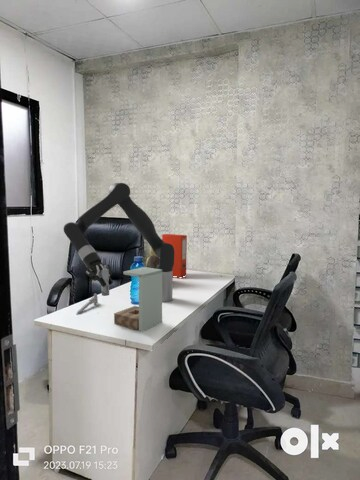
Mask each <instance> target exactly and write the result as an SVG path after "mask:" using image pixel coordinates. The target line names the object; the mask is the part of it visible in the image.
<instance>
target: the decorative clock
mask: <svg viewBox="0 0 360 480" xmlns="http://www.w3.org/2000/svg"><path fill="white" fill-rule="evenodd" d="M159 263H160V258H159V257H158V256H157V255H156V254H155V253H154V251H153V249H152V248H151V247H150V249H149V257H147V259H146V261H145V267H147V268H154V269H157V265H159Z"/></svg>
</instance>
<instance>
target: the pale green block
mask: <svg viewBox="0 0 360 480" xmlns="http://www.w3.org/2000/svg"><path fill="white" fill-rule="evenodd" d="M122 272H123V275H125V276H131V277H132V276H133V277H136V278H137V277H138V282H139V288H138V307H139V330H138V331H139V332H142V333H144V332H146V331H147V330H150V329H152V328H154V327H156V326H157V325H160V324H162V323H163V302H162V270H161V269H154V268H147V267H146V266H142V267H139V268H134V269H130V270H129V269H128V270H125V271H122Z"/></svg>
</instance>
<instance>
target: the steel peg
mask: <svg viewBox="0 0 360 480" xmlns="http://www.w3.org/2000/svg"><path fill="white" fill-rule="evenodd" d="M101 277H102V278H103V279H104V281H105V282H106V286H105V287H103V286H101V290H100V291H101V296H103V297H107V296H110V285H109V269H101Z"/></svg>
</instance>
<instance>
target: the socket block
mask: <svg viewBox="0 0 360 480" xmlns="http://www.w3.org/2000/svg"><path fill="white" fill-rule="evenodd" d="M113 314H114V315H113V317H114V318H113V319H114V322H113V324H115V325H118V326H120V327H124V328H128V329H132V330H136V331H139V306H136V305H133V306H131V307H128V308H125V309H122V310H119V311H117V312H115V313H113Z"/></svg>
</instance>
